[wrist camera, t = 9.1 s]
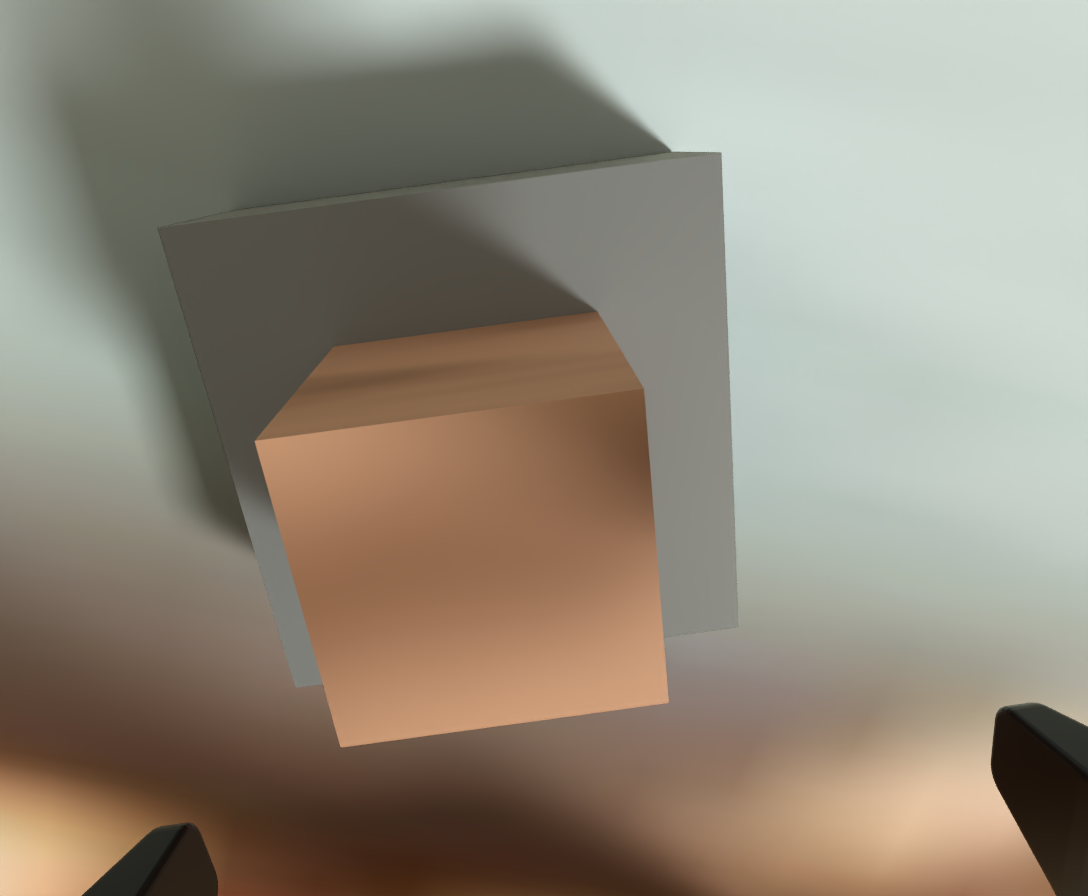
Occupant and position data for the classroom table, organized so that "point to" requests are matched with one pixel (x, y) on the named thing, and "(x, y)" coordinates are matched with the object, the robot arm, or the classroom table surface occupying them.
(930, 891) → the classroom table surface
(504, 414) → the terracotta cube
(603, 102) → the classroom table surface
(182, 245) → the base block
